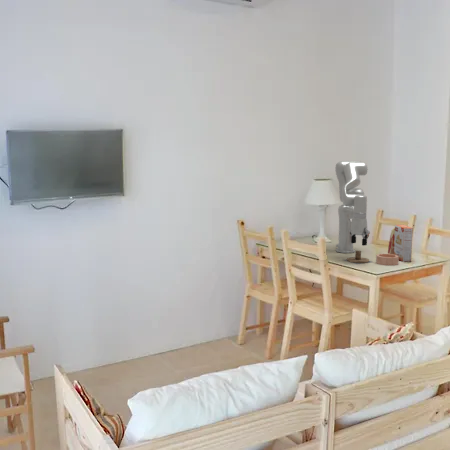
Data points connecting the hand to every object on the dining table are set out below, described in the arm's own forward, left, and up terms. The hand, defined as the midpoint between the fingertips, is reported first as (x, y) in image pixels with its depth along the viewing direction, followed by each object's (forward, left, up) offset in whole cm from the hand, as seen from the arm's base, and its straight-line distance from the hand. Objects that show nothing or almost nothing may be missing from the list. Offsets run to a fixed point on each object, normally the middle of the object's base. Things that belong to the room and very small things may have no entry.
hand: (358, 244), depth 327 cm
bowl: (+11, +12, -11) cm, 20 cm away
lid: (-1, 0, -11) cm, 10 cm away
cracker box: (+5, +30, -11) cm, 33 cm away
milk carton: (-6, +35, -11) cm, 37 cm away
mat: (-1, 0, -11) cm, 11 cm away
